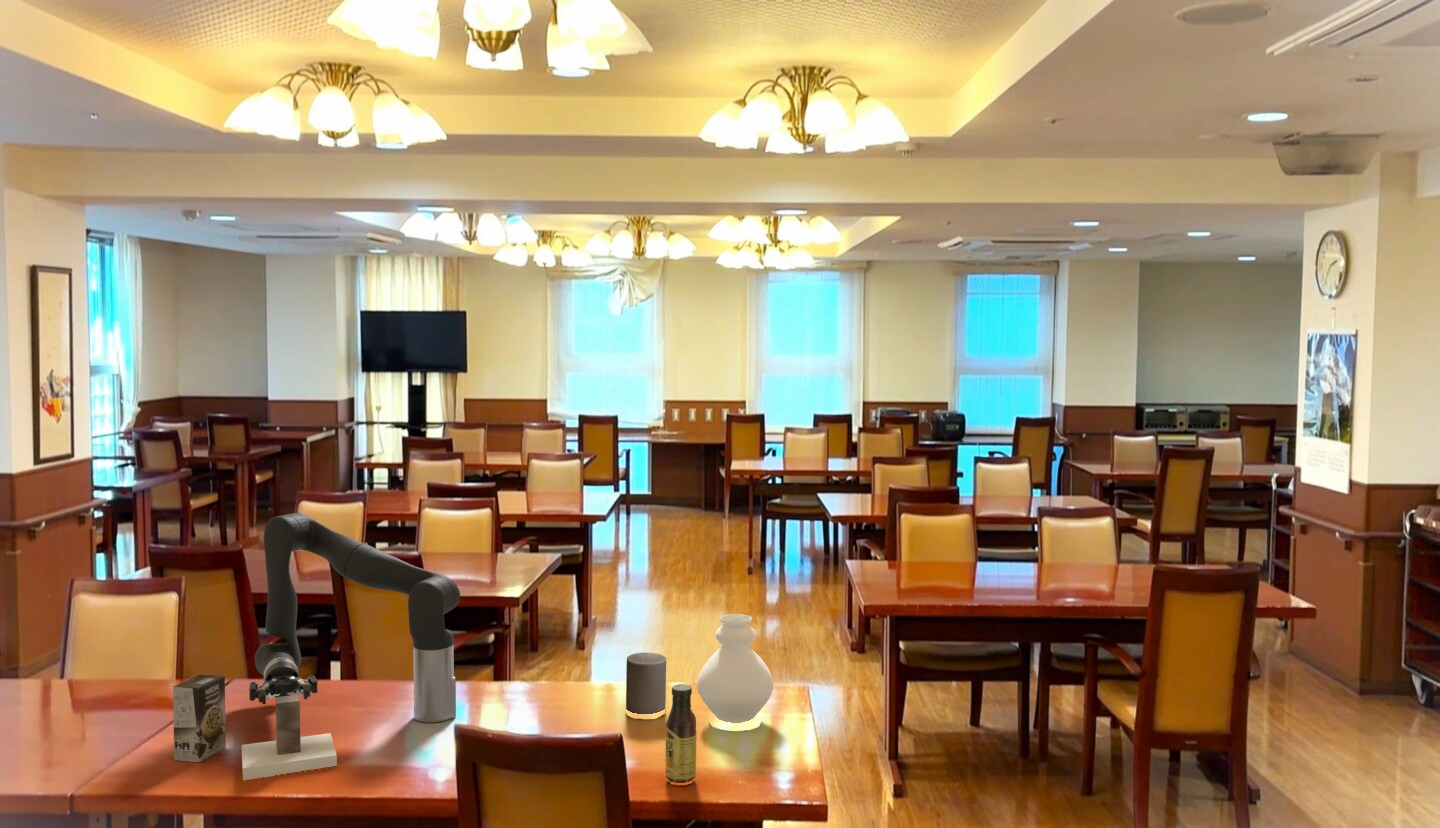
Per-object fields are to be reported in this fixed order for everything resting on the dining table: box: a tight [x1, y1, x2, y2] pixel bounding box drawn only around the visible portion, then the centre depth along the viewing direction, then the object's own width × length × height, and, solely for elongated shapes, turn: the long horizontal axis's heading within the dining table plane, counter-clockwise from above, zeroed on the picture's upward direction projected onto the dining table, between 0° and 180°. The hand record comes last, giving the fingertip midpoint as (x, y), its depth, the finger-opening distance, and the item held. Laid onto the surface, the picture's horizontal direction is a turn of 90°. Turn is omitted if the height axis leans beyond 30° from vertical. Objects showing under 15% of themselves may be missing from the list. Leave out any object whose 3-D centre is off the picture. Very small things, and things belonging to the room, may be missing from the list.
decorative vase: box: [696, 613, 774, 723], centre depth 255 cm, size 18×18×25 cm
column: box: [275, 694, 301, 755], centre depth 229 cm, size 4×4×11 cm
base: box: [241, 732, 338, 781], centre depth 230 cm, size 18×14×2 cm
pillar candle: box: [625, 652, 667, 714], centre depth 261 cm, size 10×10×15 cm
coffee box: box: [172, 674, 227, 763], centre depth 233 cm, size 9×6×16 cm
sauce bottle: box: [665, 683, 697, 783], centre depth 220 cm, size 7×6×20 cm
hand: (285, 697), depth 239 cm, fingers open, 8 cm apart
